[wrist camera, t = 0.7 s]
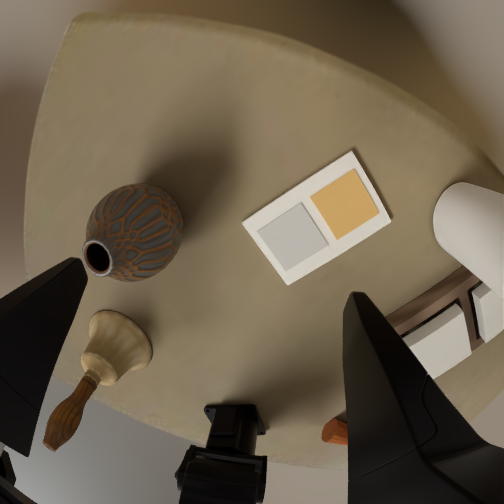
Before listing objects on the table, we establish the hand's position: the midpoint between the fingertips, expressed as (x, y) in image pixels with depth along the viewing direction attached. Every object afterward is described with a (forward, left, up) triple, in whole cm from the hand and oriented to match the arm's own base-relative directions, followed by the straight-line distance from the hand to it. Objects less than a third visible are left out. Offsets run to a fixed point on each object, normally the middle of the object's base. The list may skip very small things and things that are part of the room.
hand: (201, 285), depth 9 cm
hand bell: (-12, +18, -14) cm, 26 cm away
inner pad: (-16, -15, -12) cm, 25 cm away
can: (-5, -18, -14) cm, 23 cm away
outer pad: (-13, -23, -12) cm, 29 cm away
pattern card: (-3, -5, -14) cm, 15 cm away
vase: (0, +8, -14) cm, 16 cm away
